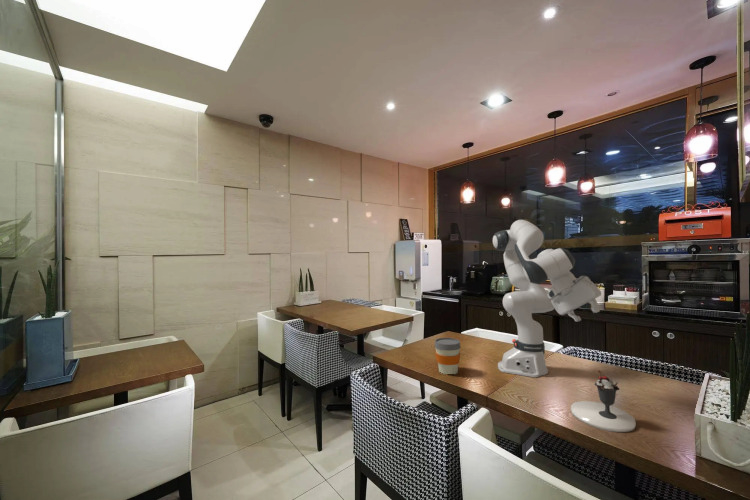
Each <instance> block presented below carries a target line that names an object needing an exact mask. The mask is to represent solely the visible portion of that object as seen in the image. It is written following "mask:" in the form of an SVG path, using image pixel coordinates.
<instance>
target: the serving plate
mask: <svg viewBox="0 0 750 500" xmlns="http://www.w3.org/2000/svg"><path fill="white" fill-rule="evenodd" d="M600 411H605V404H603V403H602V402H598V401H591V400H581V401H576V402H573V403H572V404H571V406H570V412H571V414H572V416H573V417H575V418H576V419H577V420H579V421H580V422H582V423H583V422H584V424H585V423H586V425H588V426H590V427H593V428H597V429H598V430H603V431H607V432H614V433H627V432H632V431H634V430H635V429H636V425H637V422H636V419H635V417H633V416H632V415H631V414H630V413H628V412H627V411H625V410H623V409H621V408H618V407H616V406H613V405H610V412H611V413H613V414H615V415H616V416H617V418H616V419H609V418H605V417H603V416H601V415H600V414H599V412H600Z"/></svg>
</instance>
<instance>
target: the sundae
mask: <svg viewBox="0 0 750 500" xmlns="http://www.w3.org/2000/svg"><path fill="white" fill-rule="evenodd" d="M597 372H599V374H600V376H598V379H597V380H596V381H595V383H594V386H596V388H597V391H598V393H597V394H598V398H599V400H600V403H603V404H605V411H600V412H599V414H600V415H601V416H603V417H605V418H609V419H616V418H617V416H616V415H615V414H613V413H611V412H610V406H613V405H614V404H615V401H616V395H617V391H619V390H620V387H618V383H619V382H618V381H617V382H616V383H615V384H614V381H613V380H612V379H610V378H609V377H607V376H606V375H604V374H602V372H601V371H600V370H597Z"/></svg>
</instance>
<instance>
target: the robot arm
mask: <svg viewBox="0 0 750 500" xmlns="http://www.w3.org/2000/svg"><path fill="white" fill-rule="evenodd" d="M509 228H510V229H506V230H505V229H503V230H500V231H499V230H498V231H497V232H495V233H494V234H493V236H492V245H493V248H494V249H495V250H496V251H499V252H504V253H503V255H502V256H503V263H504V267H505V271H506V274H507V277H508V280H509V282H510V285H512V286H514V287H515V288H518V290H517V291H511V292H507V293H505V294H504V296H503V298H502V306H503V308H504V310H505V311H506V312H507V313H509V315H511V316H512V317H513V319H514V321H515V324H516V328H517V339H516V338H513V339H512V340H511V341H512V344H513V347H512V348H511V349H509V350H507V351H506V352H504V353H503V355H502V359H501V360H500V361H498V363H497V368H498V370H499V371H500V372H502V373H507V374H511V375H512V374H513V375H517V376H518V375H519V376H523V377H529V378H530V377H531V378H538V377H540V376H545V375H548V374H549V370H548V367H547V364H546V359H545V357H546V356H545V354H546V353H545V352H546V346H545V342H544V331H543V330H544V329H543V326H542V325H541V324H540V322H538V321H536V320H534V319H533V314H539V313H540V314H541V313H547V312H551V311H554V310H555V311H556V312H557V313H558V314H559V315H561V316H564V315H566V314H567V315H568V316H569V317H570V318H572V319H573V320H574V321H575V322H581V321H582V318H581V317H580V315H576V314H575V311H574V310H577V309H578V308H580V307H582V306H584V305H585V304H590V305H591V312H592V313H593V314H597V313H600V312H601V309H599V307H598V302H597V300H596V299H597V298H599V297H601V296H602V291H601V290H600V289H599V287H598V286H597V285H596V284H595V283H594V282H593V281H591V279H590V277H589V276H587V275H580V276H579V277H578V278H576V277H575V275H574V273H572V272H571V270H572V269H574V266H575V264H576V259H575V257H574V256H573V255H572V253H571V252H570V251H569V249H565V248H561V247H560V248H556V249H553V248H546V249H545V250H541V252H539V253H538V254H537V256H536V257H535V258H530V257H529V256H530V255H531V254H533V253H534V252H536V251H537V250H538V249H539V248H540V247H541V246H542V245H543V243H544V233H543V232H542V230H541V229H540V228H539V227H538V226H536V225H535V224H533V223H532V222H530V221H528V220H525V219H517V220H515V221H514V222H512V224H511V225H510V227H509ZM547 281H549V283H550V284H551V286H552V287H551V288H550V290H547V289H545V288H544V287H542V285H541V284H543V283H544V282H545V283H546V282H547Z"/></svg>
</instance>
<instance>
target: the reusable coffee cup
mask: <svg viewBox="0 0 750 500" xmlns="http://www.w3.org/2000/svg"><path fill="white" fill-rule="evenodd" d="M434 348H435V358H436V362H437V365H438V372H439V373H440V372H441V373H440V374H442V373H443V374H442V375H445V374H454V375H456V374H458V371H459V363H460V360H461V359H460V358H461V352H460V351H461V350H460V349H461V342H460V340H459V339H457V338H453V337H440V338H436V339H435V340H434Z"/></svg>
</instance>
